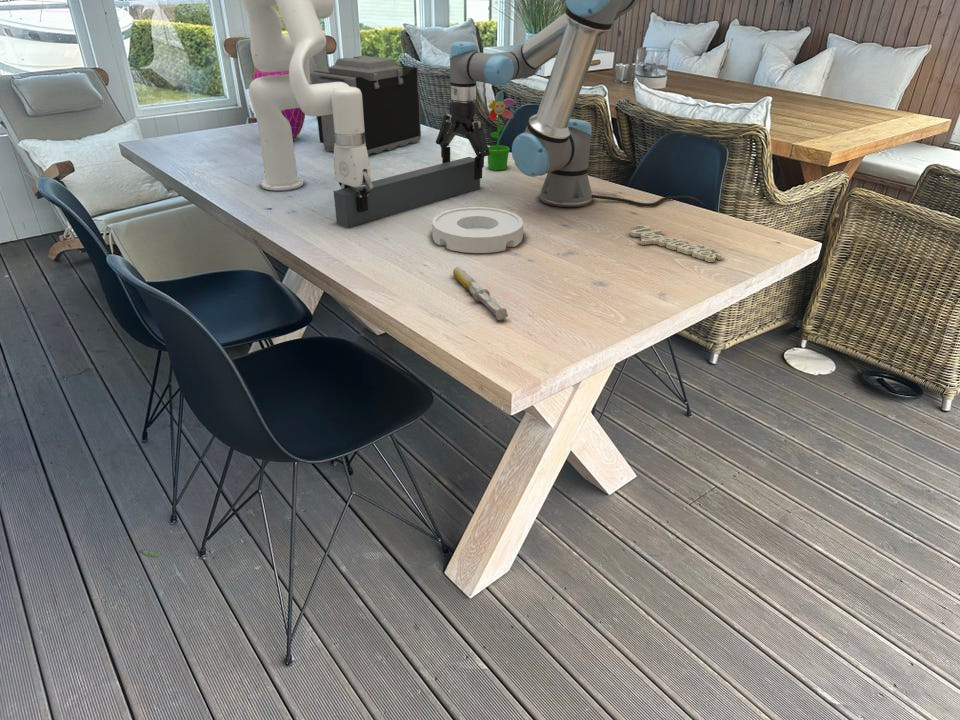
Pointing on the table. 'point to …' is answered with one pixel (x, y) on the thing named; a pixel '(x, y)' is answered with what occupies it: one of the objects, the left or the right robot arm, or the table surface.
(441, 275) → the table surface
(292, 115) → the magenta tall rounded piece
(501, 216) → the ashtray
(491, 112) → the potted flower
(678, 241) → the decorative sign
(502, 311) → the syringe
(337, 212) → the beam
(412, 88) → the black cooler box
